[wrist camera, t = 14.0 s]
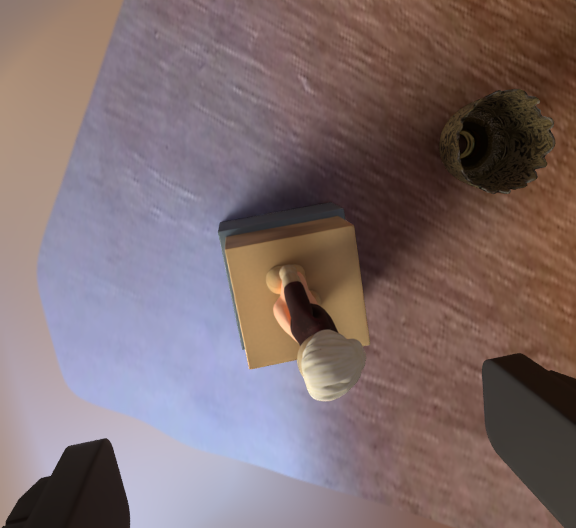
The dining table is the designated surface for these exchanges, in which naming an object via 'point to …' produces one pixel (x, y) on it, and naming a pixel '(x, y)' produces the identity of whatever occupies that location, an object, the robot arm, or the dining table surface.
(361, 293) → the top block
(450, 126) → the cup
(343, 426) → the dining table surface
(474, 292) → the dining table surface
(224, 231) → the base block
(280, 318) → the grandmother figurine
